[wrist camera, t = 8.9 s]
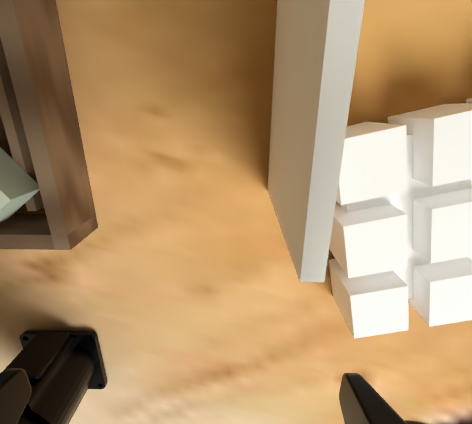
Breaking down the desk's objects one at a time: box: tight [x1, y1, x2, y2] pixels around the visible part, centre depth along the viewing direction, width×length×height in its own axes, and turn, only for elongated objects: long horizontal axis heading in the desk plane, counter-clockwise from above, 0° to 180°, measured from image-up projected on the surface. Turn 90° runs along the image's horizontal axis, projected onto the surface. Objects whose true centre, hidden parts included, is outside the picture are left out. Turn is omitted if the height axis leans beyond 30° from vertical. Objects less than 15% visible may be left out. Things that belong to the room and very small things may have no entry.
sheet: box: [268, 0, 365, 282], centre depth 12 cm, size 12×1×11 cm, turn 0°
